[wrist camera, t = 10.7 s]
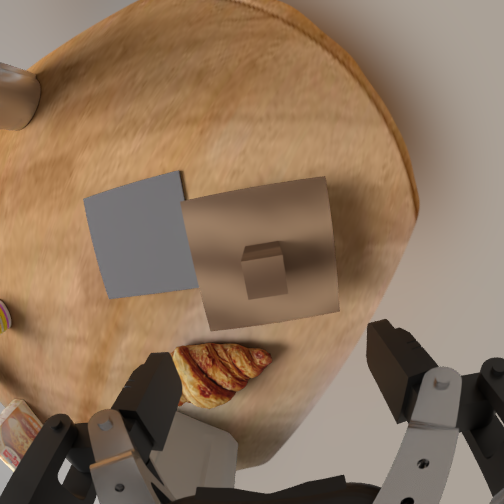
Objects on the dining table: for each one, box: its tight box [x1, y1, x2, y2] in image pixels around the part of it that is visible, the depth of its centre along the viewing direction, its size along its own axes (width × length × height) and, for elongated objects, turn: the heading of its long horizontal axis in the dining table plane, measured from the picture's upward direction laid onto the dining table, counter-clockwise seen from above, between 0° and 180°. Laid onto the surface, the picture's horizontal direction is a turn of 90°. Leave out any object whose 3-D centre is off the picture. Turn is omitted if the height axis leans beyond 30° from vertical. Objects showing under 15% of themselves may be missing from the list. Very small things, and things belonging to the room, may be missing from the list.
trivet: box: [83, 170, 199, 299], centre depth 32 cm, size 14×14×1 cm
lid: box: [180, 176, 340, 331], centre depth 23 cm, size 13×13×6 cm
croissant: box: [170, 343, 272, 409], centre depth 34 cm, size 21×10×8 cm, turn 115°
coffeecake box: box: [0, 399, 43, 472], centre depth 36 cm, size 15×7×20 cm, turn 20°
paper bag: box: [150, 411, 238, 499], centre depth 27 cm, size 19×15×28 cm
